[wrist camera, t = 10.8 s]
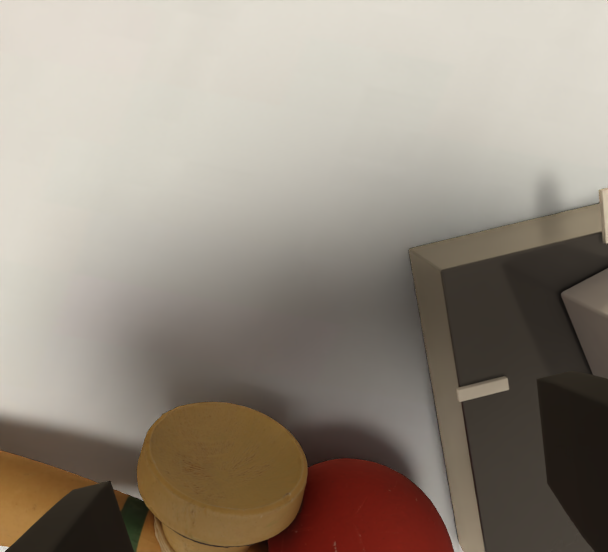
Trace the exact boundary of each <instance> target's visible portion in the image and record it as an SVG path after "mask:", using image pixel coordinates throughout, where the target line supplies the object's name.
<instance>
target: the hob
mask: <svg viewBox="0 0 608 552" xmlns="http://www.w3.org/2000/svg"><path fill="white" fill-rule="evenodd" d="M599 201H600V203H598V204H594V205H590V206H586V207H581V208H577V209H573V210H569V211H564V212H560V213H556V214H552V215H548V216H543V217H539V218H535V219H531V220H527V221H522V222H518V223H514V224H510V225H506V226H501V227H497V228H493V229H489V230H485V231H480V232H476V233H472V234H468V235H464V236H459V237H455V238H451V239H447V240H442V241H438V242H434V243H430V244H426V245H421V246H417V247H413V248H410V249H409V256H410V262H411V268H412V274H413V280H414V285H415V291H416V297H417V303H418V309H419V314H420V320H421V326H422V332H423V337H424V343H425V349H426V355H427V361H428V366H429V372H430V378H431V384H432V390H433V395H434V401H435V407H436V413H437V419H438V424H439V430H440V436H441V442H442V448H443V453H444V459H445V465H446V471H447V477H448V482H449V488H450V494H451V500H452V505H453V511H454V517H455V523H456V529H457V534H458V540H459V544H460V546H461V548H462V550H463V552H595V551H594V550H593V549H592V548H591V546H590V545H589V544H588V543H587V542H586V540H585V539H584V538H583V537H582V535H581V534H580V532H579V531H578V529H577V528H576V527H575V525H574V524H573V522H572V521H571V519H570V518H569V516H568V515H567V513H566V512H565V510H564V509H563V507H562V506H561V504H560V503H559V501H558V499H557V498H556V496H555V495H554V493H553V492H552V490H551V489H550V487H549V485H548V484H547V475H546V466H545V456H544V447H543V437H542V428H541V418H540V409H539V399H538V390H537V380H536V379H539V378H543V377H547V376H551V375H555V374H560V373H564V372H568V371H576V372H581V373H586V374H591V375H593V374H592V371H591V369H590V366H589V364H588V361H587V359H586V356H585V354H584V351H583V349H582V346H581V344H580V341H579V339H578V336H577V334H576V331H575V329H574V326H573V324H572V321H571V319H570V317H569V314H568V312H567V309H566V307H565V304H564V302H563V299H562V297H561V293H562V292H563V291H565V290H567V289H569V288H571V287H572V286H574V285H576V284H578V283H580V282H582V281H584V280H586V279H588V278H590V277H592V276H593V275H595V274H597V273H599V272H601V271H603V270H605V269H607V268H608V188H605V189H601V190H599Z"/></svg>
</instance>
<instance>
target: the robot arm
mask: <svg viewBox="0 0 608 552" xmlns="http://www.w3.org/2000/svg"><path fill="white" fill-rule="evenodd" d="M536 380H537V390H538V399H539V409H540V418H541V428H542V437H543V447H544V456H545V466H546V475H547V484H548V485H549V487H550V489H551V490H552V492H553V493H554V495H555V496H556V498H557V499H558V501H559V503H560V504H561V506H562V507H563V509H564V510H565V512H566V513H567V515H568V516H569V518H570V519H571V521H572V522H573V524H574V525H575V527H576V528H577V529H578V531H579V532H580V534H581V535H582V537H583V538H584V539H585V540H586V542H587V543H588V544H589V545H590V546H591V548H592V549H593V550H594V551H595V552H608V379H607V378H603V377H599V376H595V375H591V374H586V373H581V372H576V371H568V372H564V373H560V374H555V375H551V376H547V377H543V378H539V379H536ZM5 552H134V550H133V547H132V544H131V541H130V538H129V535H128V532H127V529H126V526H125V523H124V520H123V517H122V514H121V511H120V508H119V505H118V502H117V499H116V496H115V493H114V490H113V487H112V484H111V481H107V482H103V483H99V484H95V485H91V486H86V487H82V488H78V489H74V490H72V491H71V492H69V493H68V494H67V495H66V496H64V497H63V498H62V499H61V500H60V501H58V502H57V503H56V504H55V505H54V506H53V507H52V508H51V509H49V510H48V511H47V512H46V513H45V514H44V515H43V516H42V517H41V518H40V519H39V520H38V521H37V522H35V523H34V524H33V525H32V526H31V527H30V528H29V529H28V530H27V531H26V532H25V533H24V534H23V535H22V536H21V537H20V538H19V539H18V540H17V541H16V542H14V543H13V544H12V545H11V546H10V547H9V548H8V549H7V550H6V551H5Z"/></svg>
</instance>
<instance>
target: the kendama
mask: <svg viewBox="0 0 608 552" xmlns="http://www.w3.org/2000/svg"><path fill="white" fill-rule="evenodd" d="M137 482H138V489H139V492H140V495H141V497H142V498H143V500H144V501H142V500H140V499H138V498H134V497H132V496H130V495H127V494H124V493H122V492H120V491H117V490H114V489H113V490H114V493H115V496H116V499H117V502H118V505H119V508H120V511H121V514H122V517H123V520H124V523H125V526H126V529H127V532H128V535H129V538H130V541H131V544H132V547H133V550H134V552H454V550H453V547H452V543H451V539H450V537H449V534H448V531H447V529H446V526H445V524H444V522H443V520H442V518H441V516H440V515H439V513H438V511H437V510H436V508H435V506H434V505H433V503H432V502H431V500H430V499H429V498H428V497H427V496H426V495H425V493H424V492H423V491H422V490H421V489H420V488H419V487H417V486H416V485H415V484H414V483H413V482H412V481H410V480H409V479H408V478H406V477H405V476H403V475H402V474H400V473H399V472H397V471H395V470H393V469H391V468H389V467H387V466H385V465H381V464H378V463H375V462H372V461H367V460H362V459H352V458H342V459H333V460H328V461H324V462H321V463H318V464H315V465H313V466H310V467H308V466H307V460H306V456H305V454H304V452H303V450H302V448H301V445H300V444H299V443H298V441H297V440H296V439H295V438H294V436H293V435H292V434H291V433H290V432H289V431H288V430H287V429H286V428H285V427H283V426H282V425H281V424H280V423H278V422H276V421H275V420H273V419H272V418H270V417H269V416H267V415H265V414H263V413H261V412H258V411H256V410H254V409H251V408H248V407H244V406H241V405H237V404H232V403H224V402H200V403H193V404H188V405H183V406H178V407H176V408H175V409H173V410H170V411H168V412H166V413H164V414H162V416H161V417H160V418H159V419H158V420H157V421H156V422H155V423H154V424H153V425H152V426H151V427H150V429H149V431H148V432H147V434H146V437H145V440H144V443H143V446H142V450H141V453H140V456H139V460H138V464H137ZM95 484H99V483H97V482H95V481H92V480H90V479H87V478H84V477H81V476H79V475H76V474H73V473H71V472H68V471H65V470H62V469H59V468H56V467H53V466H51V465H48V464H44V463H41V462H38V461H35V460H32V459H29V458H25V457H22V456H19V455H15V454H12V453H8V452H5V451H0V546H7V547H10V546H11V545H12V544H13V543H14V542H16V541H17V540H18V539H19V538H20V537H21V536H22V535H23V534H24V533H25V532H26V531H27V530H28V529H29V528H30V527H31V526H32V525H33V524H34V523H35V522H37V521H38V520H39V519H40V518H41V517H42V516H43V515H44V514H45V513H46V512H47V511H48V510H49V509H51V508H52V507H53V506H54V505H55V504H56V503H57V502H58V501H60V500H61V499H62V498H63V497H64V496H66V495H67V494H68V493H69V492H71V491H72V490H74V489H78V488H82V487H86V486H91V485H95Z"/></svg>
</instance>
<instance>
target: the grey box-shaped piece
mask: <svg viewBox="0 0 608 552" xmlns="http://www.w3.org/2000/svg"><path fill="white" fill-rule="evenodd" d="M561 297H562V299H563V302H564V304H565V307H566V309H567V312H568V314H569V317H570V319H571V321H572V324H573V326H574V329H575V331H576V334H577V336H578V339H579V341H580V344H581V346H582V349H583V351H584V354H585V356H586V359H587V361H588V364H589V366H590V369H591V371H592V374H593V375H595V376H599V377H603V378H607V379H608V268H607V269H605V270H603V271H601V272H599V273H597V274H595V275H593V276H592V277H590V278H588V279H586V280H584V281H582V282H580V283H578V284H576V285H574V286H572V287H571V288H569V289H567V290H565V291H563V292H562V293H561Z"/></svg>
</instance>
